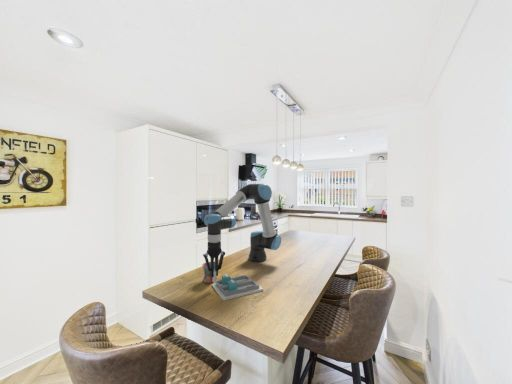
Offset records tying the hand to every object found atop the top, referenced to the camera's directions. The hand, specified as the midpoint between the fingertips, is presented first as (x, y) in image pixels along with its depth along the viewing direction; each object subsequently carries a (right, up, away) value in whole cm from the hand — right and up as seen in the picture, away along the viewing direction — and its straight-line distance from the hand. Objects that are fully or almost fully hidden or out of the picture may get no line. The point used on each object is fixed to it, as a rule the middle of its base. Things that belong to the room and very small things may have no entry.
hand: (214, 281), depth 123 cm
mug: (-4, -5, +13) cm, 14 cm away
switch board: (+13, -4, +2) cm, 14 cm away
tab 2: (+11, -3, -4) cm, 12 cm away
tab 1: (+6, -3, +3) cm, 8 cm away
